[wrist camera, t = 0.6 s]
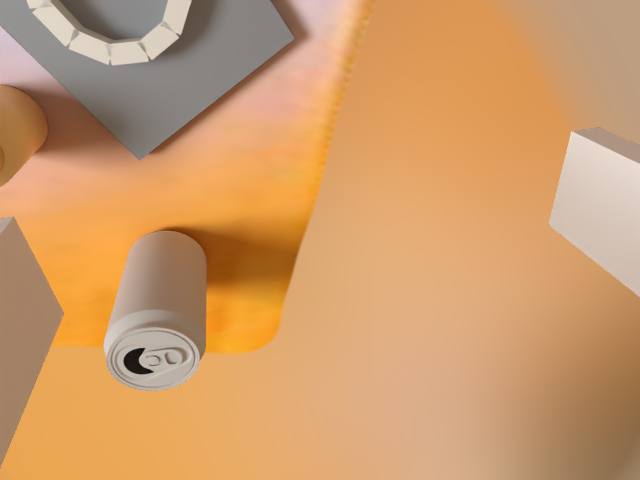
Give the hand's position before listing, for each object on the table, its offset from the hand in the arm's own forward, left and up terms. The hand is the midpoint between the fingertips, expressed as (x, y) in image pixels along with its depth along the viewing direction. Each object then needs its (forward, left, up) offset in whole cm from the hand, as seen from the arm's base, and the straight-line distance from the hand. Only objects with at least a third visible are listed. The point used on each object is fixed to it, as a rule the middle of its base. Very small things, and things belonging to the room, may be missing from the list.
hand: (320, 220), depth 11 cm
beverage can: (+9, -16, -25) cm, 31 cm away
